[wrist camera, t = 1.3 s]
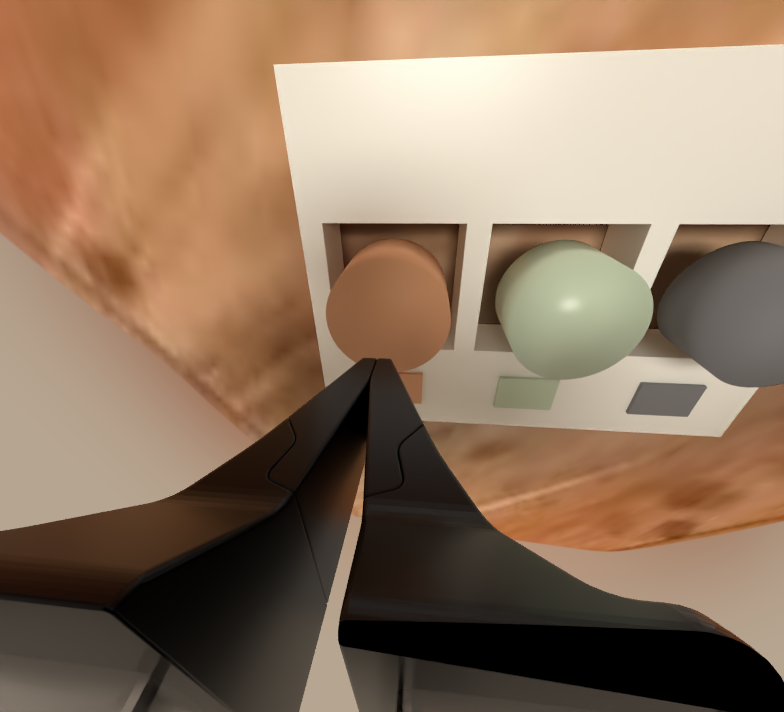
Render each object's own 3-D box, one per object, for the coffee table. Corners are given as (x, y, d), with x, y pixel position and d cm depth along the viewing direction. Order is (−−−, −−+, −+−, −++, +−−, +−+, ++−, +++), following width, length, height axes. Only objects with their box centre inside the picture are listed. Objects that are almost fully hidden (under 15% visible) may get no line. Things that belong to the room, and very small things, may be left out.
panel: (898, 60, 11) (1044, 32, 9) (683, 401, 20) (723, 439, 17) (302, 81, 13) (271, 63, 11) (340, 385, 22) (329, 418, 19)
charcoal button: (824, 241, 12) (929, 265, 10) (749, 349, 15) (816, 390, 12) (688, 240, 12) (755, 262, 10) (638, 345, 15) (681, 384, 13)
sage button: (629, 239, 13) (679, 262, 10) (590, 344, 15) (622, 382, 13) (505, 239, 13) (524, 260, 11) (487, 340, 16) (499, 377, 13)
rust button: (450, 239, 13) (457, 259, 11) (442, 339, 16) (445, 374, 13) (337, 238, 14) (317, 257, 11) (347, 336, 16) (333, 370, 14)
